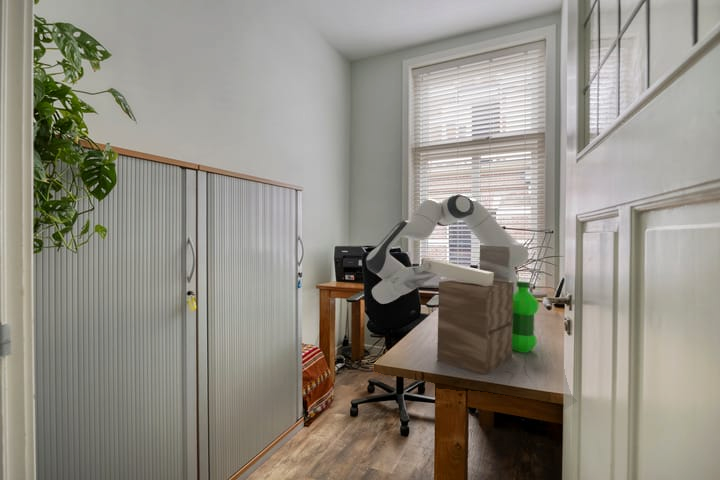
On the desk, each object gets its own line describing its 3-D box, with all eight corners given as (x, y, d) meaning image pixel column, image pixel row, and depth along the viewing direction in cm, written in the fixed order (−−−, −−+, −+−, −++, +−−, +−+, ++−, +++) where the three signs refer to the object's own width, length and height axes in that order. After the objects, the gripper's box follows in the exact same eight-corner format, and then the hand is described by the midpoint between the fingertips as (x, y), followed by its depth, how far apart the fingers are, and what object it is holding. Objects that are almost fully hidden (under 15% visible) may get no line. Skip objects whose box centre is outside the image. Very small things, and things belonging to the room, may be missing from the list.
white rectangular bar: (427, 269, 125) (429, 257, 125) (492, 285, 109) (494, 272, 108) (420, 269, 122) (421, 258, 121) (486, 286, 105) (488, 273, 105)
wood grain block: (468, 345, 130) (470, 244, 129) (511, 356, 119) (514, 246, 118) (437, 360, 114) (439, 245, 113) (484, 375, 103) (487, 247, 102)
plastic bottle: (528, 357, 119) (530, 284, 119) (500, 348, 128) (502, 280, 127) (542, 351, 125) (544, 282, 125) (515, 343, 134) (516, 279, 133)
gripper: (384, 274, 122) (413, 257, 114) (417, 270, 137) (444, 255, 129) (391, 291, 120) (420, 274, 112) (424, 285, 135) (452, 270, 127)
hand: (433, 264), depth 121 cm, fingers closed on white rectangular bar, 4 cm apart
